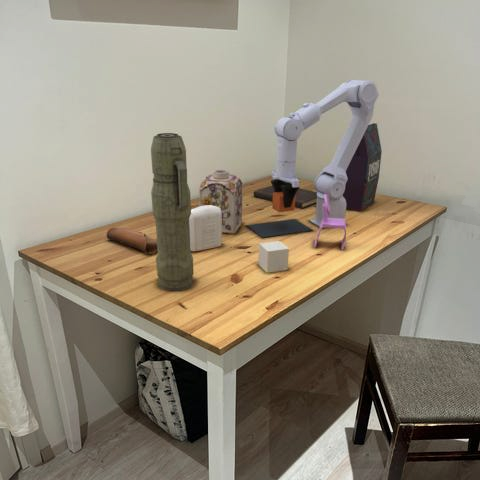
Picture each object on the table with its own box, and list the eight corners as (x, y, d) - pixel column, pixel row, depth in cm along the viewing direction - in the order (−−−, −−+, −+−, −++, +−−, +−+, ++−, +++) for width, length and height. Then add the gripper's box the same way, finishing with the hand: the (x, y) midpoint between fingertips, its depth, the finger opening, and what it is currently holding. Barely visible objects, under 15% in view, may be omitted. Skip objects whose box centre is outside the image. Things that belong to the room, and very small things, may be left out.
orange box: (287, 206, 157) (288, 190, 154) (294, 210, 153) (295, 194, 151) (272, 208, 155) (272, 192, 152) (278, 212, 151) (279, 196, 149)
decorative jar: (208, 220, 164) (207, 165, 155) (242, 222, 162) (243, 167, 153) (199, 231, 154) (197, 174, 145) (235, 234, 152) (235, 176, 143)
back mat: (294, 220, 165) (294, 218, 165) (312, 231, 156) (312, 229, 156) (246, 226, 159) (246, 225, 159) (262, 238, 150) (262, 236, 149)
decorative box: (375, 201, 186) (387, 123, 172) (361, 212, 174) (373, 129, 160) (355, 198, 190) (365, 121, 176) (339, 208, 177) (349, 127, 164)
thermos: (176, 296, 115) (168, 140, 97) (147, 280, 122) (134, 133, 104) (205, 285, 120) (201, 136, 103) (175, 271, 127) (167, 129, 110)
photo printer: (216, 242, 146) (216, 201, 140) (224, 246, 143) (223, 205, 137) (186, 248, 141) (184, 206, 135) (193, 253, 138) (191, 210, 132)
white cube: (278, 261, 134) (279, 240, 131) (287, 269, 129) (289, 248, 126) (258, 264, 132) (258, 243, 129) (266, 272, 127) (267, 251, 124)
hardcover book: (278, 189, 200) (278, 183, 199) (325, 200, 187) (326, 194, 186) (253, 196, 190) (253, 190, 188) (301, 208, 176) (302, 202, 175)
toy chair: (344, 251, 141) (351, 200, 133) (314, 249, 142) (318, 198, 135) (344, 241, 148) (350, 192, 140) (315, 239, 149) (320, 190, 142)
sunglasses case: (168, 245, 142) (158, 229, 136) (154, 263, 139) (143, 247, 134) (128, 232, 151) (117, 216, 146) (114, 248, 149) (102, 233, 144)
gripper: (263, 156, 151) (262, 200, 158) (286, 166, 139) (283, 212, 146) (283, 155, 153) (281, 197, 160) (307, 164, 142) (303, 210, 149)
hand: (283, 204), depth 153 cm, fingers closed on orange box, 4 cm apart
